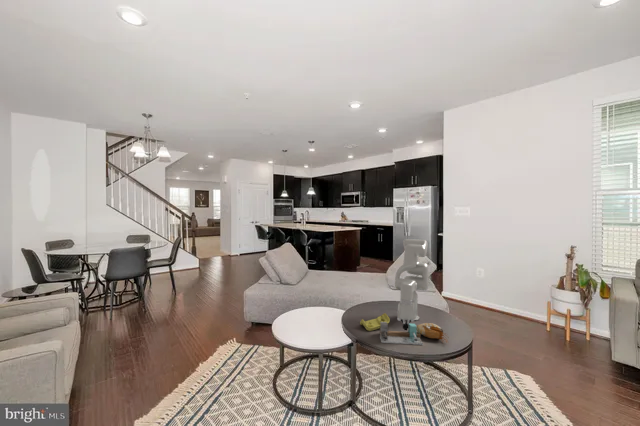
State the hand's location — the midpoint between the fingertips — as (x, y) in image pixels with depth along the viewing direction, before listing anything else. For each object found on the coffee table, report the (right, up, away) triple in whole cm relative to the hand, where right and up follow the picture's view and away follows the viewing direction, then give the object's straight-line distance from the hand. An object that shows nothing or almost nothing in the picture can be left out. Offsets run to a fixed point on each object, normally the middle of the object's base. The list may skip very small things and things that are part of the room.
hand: (405, 329), depth 175 cm
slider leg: (+4, -4, -4) cm, 7 cm away
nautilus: (+17, -5, -2) cm, 18 cm away
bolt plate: (-5, -5, -6) cm, 9 cm away
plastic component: (-17, -4, +14) cm, 22 cm away
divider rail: (-4, -5, -3) cm, 7 cm away
